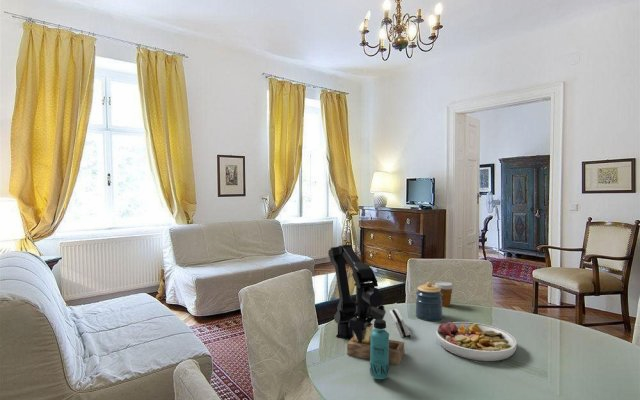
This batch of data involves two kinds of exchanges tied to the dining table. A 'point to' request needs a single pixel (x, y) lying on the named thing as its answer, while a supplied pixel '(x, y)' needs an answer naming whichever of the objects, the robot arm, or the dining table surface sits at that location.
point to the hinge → (399, 323)
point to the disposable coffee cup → (445, 292)
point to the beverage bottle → (379, 350)
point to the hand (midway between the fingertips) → (363, 338)
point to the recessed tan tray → (364, 350)
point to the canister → (429, 302)
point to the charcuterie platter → (476, 341)
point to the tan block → (366, 335)
